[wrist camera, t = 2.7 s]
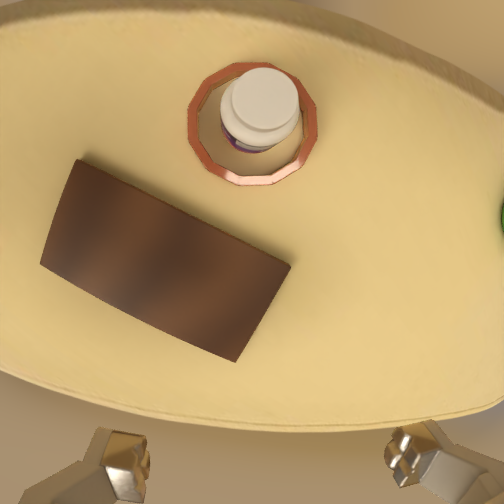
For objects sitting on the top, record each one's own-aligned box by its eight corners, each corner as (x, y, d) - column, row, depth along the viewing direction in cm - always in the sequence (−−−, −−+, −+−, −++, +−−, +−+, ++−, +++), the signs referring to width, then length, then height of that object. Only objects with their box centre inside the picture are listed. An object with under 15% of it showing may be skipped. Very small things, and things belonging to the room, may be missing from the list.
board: (44, 261, 27) (39, 264, 26) (80, 159, 26) (75, 158, 25) (235, 358, 31) (235, 363, 30) (289, 264, 30) (291, 267, 29)
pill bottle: (223, 93, 26) (223, 52, 16) (284, 99, 26) (312, 63, 17) (218, 152, 27) (215, 137, 17) (279, 157, 27) (308, 145, 18)
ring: (168, 151, 26) (164, 149, 25) (227, 50, 25) (227, 43, 23) (276, 206, 28) (280, 208, 27) (331, 105, 27) (337, 101, 25)
